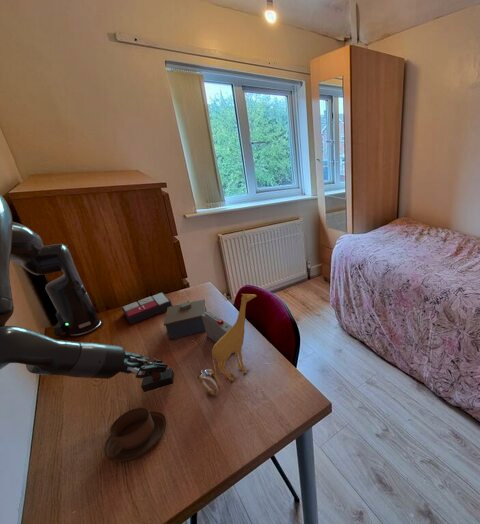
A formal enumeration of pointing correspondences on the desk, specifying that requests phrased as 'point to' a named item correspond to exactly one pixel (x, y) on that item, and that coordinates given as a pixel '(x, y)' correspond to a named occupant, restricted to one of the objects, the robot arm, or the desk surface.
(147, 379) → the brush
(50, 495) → the desk surface
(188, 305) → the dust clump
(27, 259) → the robot arm
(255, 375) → the desk surface
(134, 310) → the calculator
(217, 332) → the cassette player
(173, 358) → the desk surface
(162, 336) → the desk surface
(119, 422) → the brown fedora hat
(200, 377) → the ring
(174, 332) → the grey storage box
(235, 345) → the giraffe
